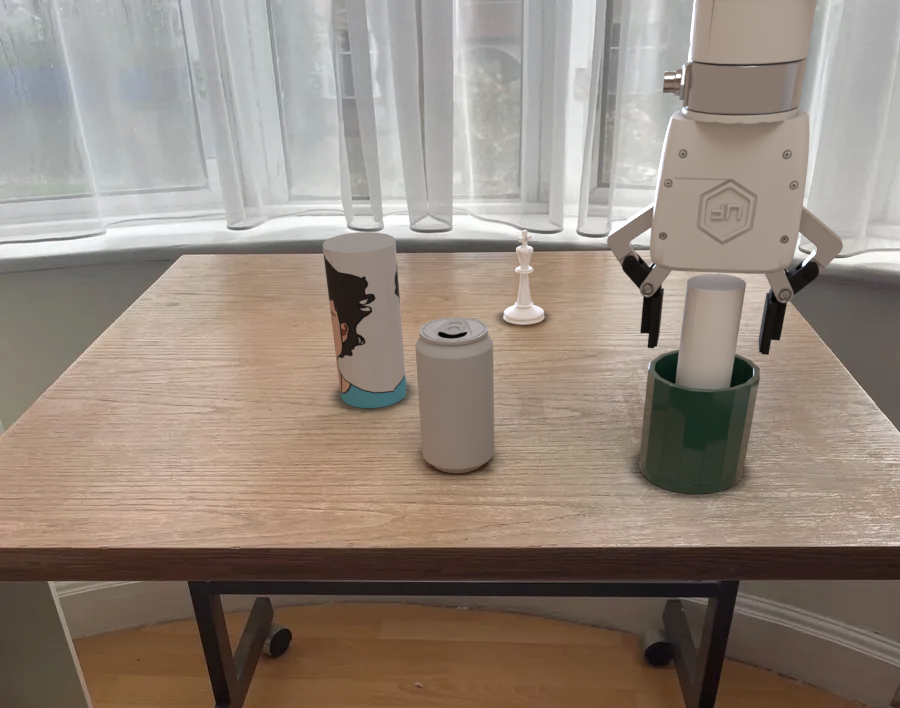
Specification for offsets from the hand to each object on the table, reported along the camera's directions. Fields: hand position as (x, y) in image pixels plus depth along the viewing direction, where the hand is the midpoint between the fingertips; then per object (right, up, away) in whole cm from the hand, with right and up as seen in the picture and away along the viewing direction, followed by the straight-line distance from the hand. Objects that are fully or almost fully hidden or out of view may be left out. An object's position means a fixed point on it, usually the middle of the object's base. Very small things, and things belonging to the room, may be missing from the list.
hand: (707, 343), depth 70 cm
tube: (0, -8, +6) cm, 10 cm away
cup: (-28, +1, +22) cm, 35 cm away
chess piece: (-11, +14, +38) cm, 42 cm away
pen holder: (0, -9, +7) cm, 11 cm away
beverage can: (-19, -8, +10) cm, 23 cm away
